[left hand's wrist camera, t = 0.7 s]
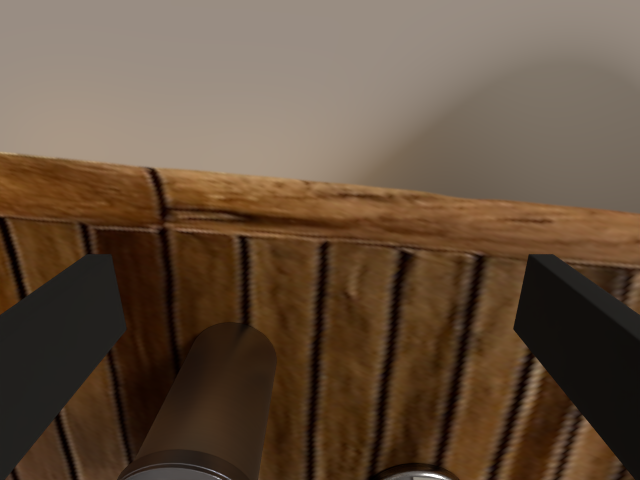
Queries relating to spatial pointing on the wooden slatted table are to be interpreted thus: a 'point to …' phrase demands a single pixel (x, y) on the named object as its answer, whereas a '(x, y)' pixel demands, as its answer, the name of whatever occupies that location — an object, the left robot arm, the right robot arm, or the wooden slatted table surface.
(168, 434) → the jar
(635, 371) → the left robot arm
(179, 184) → the wooden slatted table surface
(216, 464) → the lid
